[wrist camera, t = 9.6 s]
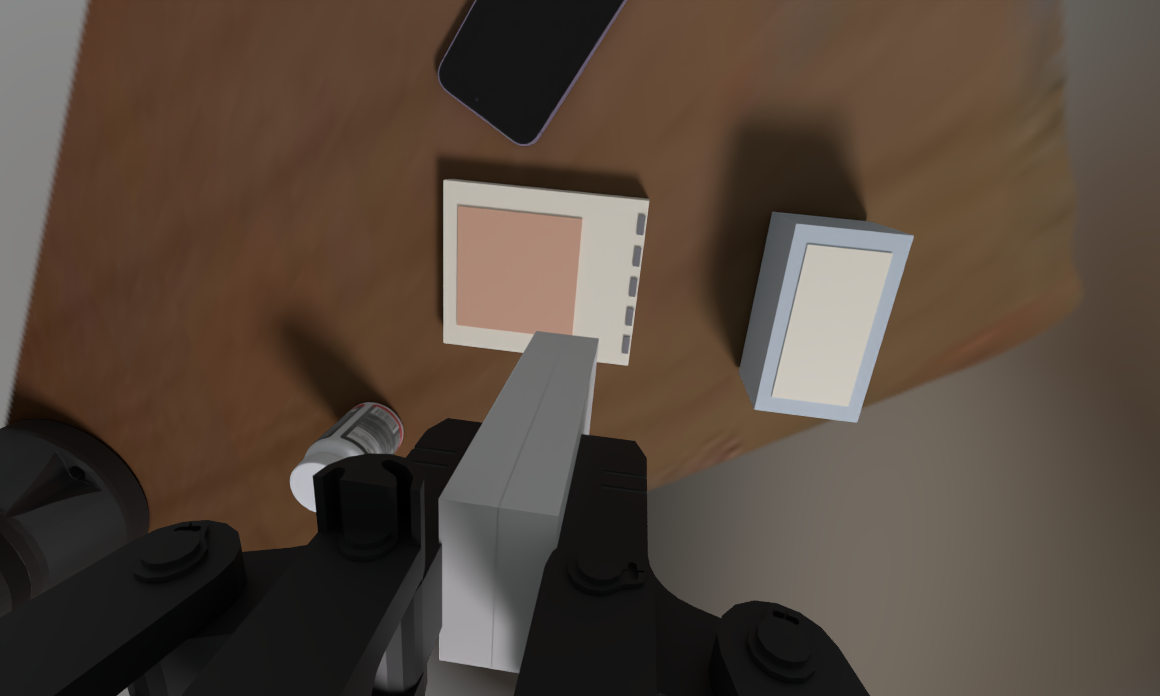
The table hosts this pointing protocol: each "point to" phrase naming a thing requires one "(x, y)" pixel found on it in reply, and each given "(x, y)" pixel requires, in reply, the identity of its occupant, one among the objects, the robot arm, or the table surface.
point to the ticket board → (540, 265)
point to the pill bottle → (347, 445)
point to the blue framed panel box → (820, 314)
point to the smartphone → (523, 59)
